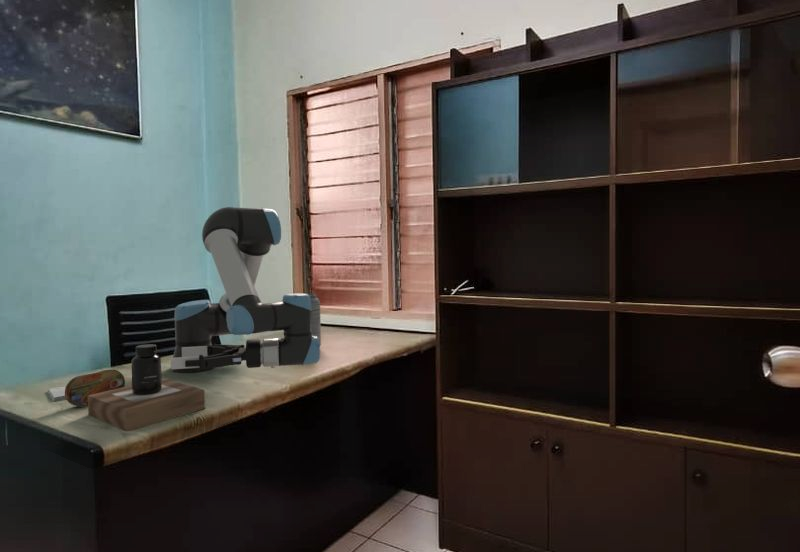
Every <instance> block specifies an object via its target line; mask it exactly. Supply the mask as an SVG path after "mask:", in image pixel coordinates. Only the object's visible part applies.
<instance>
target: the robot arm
mask: <svg viewBox="0 0 800 552" xmlns="http://www.w3.org/2000/svg"><path fill="white" fill-rule="evenodd" d="M201 237H202V243H203V245H204V248H205V250H206V251H207V252H208V253H210V254H211V256H212V259H213V262H214V265H215V267H216V269H217V272H218V275H219V278H220V281H221V284H222V285H223V288H224V291H225V293H224V294H223V295H221V296H220V298H219V302H216V303H212V302H211V301H210V299H200V300H199V299H198V300H192V301H187V302H183V303H181V304H180V303H179V304H178V305H177V306H175V308H174V319H173V320H174V333H175V334H174V336H175V337H174V338H175V349H174V352H173V354H172V357H171V358H170V360H171V361H170V371H172V372H174V373H197V372H198V373H199V372H204V371H209V370H212V369H216V368H221V367H228V366H237V365H238V366H239V365H242V361H245V365H246V368H248V369H253V368H255V369H256V368H260V367H264V368H268V367H271V369H275V367H281V366H283V367H284V366H300V365H301V366H304V365H310V364H317V363H318V362H319V361H320V358H321V349H320V347H321V345H320V343H319V338H318V337H317V336H312V333H311V311H312V309H311V300H310V296H309V295H307V294H308V293H299V292H298V293H297V292H296V293H287V294H286V293H285V294H284V295H283V296H282V300H281V301H279V302H269V303H268V302H267V303H262V301H261V299H260V297H259V294H258V292H257V289H256V287H255V284H256V282H257V279H258V278H257V277H258V274H259V271H260V267H261V264H262V261H263V258H264V256H266V255H267V254H268V253H269V252H270V250H271V247H272V246H276V245H278V244H279V243H280V242H281V240H282V225H281V221H280V217H279V216H278V214H277V212H276V211H275V210H274V209H271V208H264V207H261V208H255V207H253V208H252V207H233V206H225V207H222V208H218V209H217V210H215V211H214V212H212V213H211V214H210V215H209V216H208V218H207V219H206V221H204V224H203V227H202V233H201ZM277 331H279V332H280V331H283V337H281V338H280V337H272V338H262V340H261V339H259V338H257V339H256V338H255V339H254V338H253V339H247V340H246V341H245V344H217V343H213V344H212V337H215V336H225V335H226V336H227V335H235V336H241V335H244V336H245V335H247V336H248V335H249V336H250V335H252V334H262V333H267V332H268V333H269V332H277Z"/></svg>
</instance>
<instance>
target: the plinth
mask: <svg viewBox="0 0 800 552" xmlns="http://www.w3.org/2000/svg"><path fill="white" fill-rule="evenodd" d="M161 380H162V388H161V390H160V391H159V392H157V393H154V394H148V395H136V394H134V393H133V392H132V385H128V386H124V387H123V388H119V389H114V390H110V391H105V392H101V393H96V394H92V395H88V406H87V410H88V411H87V413H88V414H87V415H88V416H91V417H93V418H95V419H97V420H99V421H102V422H104V423H106V424H108V425H112V426H114V427H115V428H118V429H121V430H122V431H125V432H129V431H133V430H135V429H138V428H139V429H140V428H142V427H146V426H150V425H152V424H156V423H159V422H162V421H166V420H170V419H173V418H177V417H180V416H183V415H184V416H185V415H187V414H191V413H194V412H198V411H200V410H204V409H206V404H205V403H206V400H205V399H206V398H205V397H206V396H205V389H203V388H201V387H196V386H194V385H189V384H186V383H183V382H178V381H175V380H171V379H168V378H161Z"/></svg>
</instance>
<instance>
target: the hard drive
mask: <svg viewBox="0 0 800 552" xmlns="http://www.w3.org/2000/svg"><path fill="white" fill-rule="evenodd" d="M66 386H67V385H65V386H63V385H62V386H58V387H52V388H47V393H48V395H49V394H50V395H49V396H50V398H51V399H52V401H53V402H58V401H59V402H60V401H65V400H66V397H65V388H66Z"/></svg>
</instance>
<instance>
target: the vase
mask: <svg viewBox="0 0 800 552" xmlns="http://www.w3.org/2000/svg"><path fill="white" fill-rule="evenodd" d="M306 294H307V295H309V296H310V300H311V309H312V311H311V333H312V336H317V337H318V338H319V343H320V346H321V345H322V336H321V335H322V334H321V333H322V332H321V301H320V299H319V298H318V297H317V294H315V293H306Z"/></svg>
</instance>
